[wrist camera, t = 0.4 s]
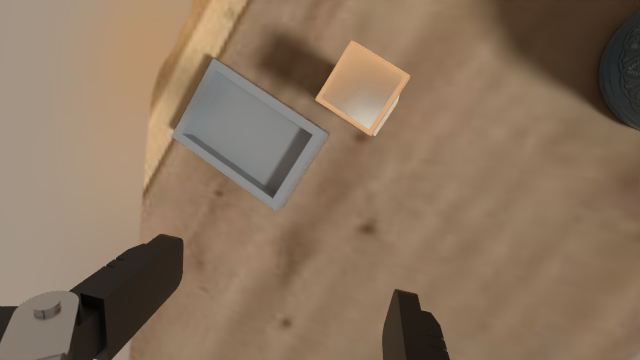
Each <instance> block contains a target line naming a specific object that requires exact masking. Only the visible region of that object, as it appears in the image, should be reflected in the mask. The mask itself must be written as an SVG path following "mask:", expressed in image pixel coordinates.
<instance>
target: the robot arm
mask: <svg viewBox="0 0 640 360" xmlns="http://www.w3.org/2000/svg"><path fill="white" fill-rule="evenodd" d="M182 274H183V240H182V239H181V238H178V237H173V236H169V235H165V234H160V235H158V236H157V237H155V238H154V239H153V240H151V241H150V242H149V243H147V244H141V245H138V246H136V247H133V248H130V249H128V250H127V251H125V252H124V253H122V254H121V255H119V256H118V257H117V258H116V260H112V261H111V262H109V263H108V264H107V265H106V267H105V266H104V267H102V268H101V269H100V270H98V271H97V272H95V273H94V274H92V275H91V276H90V277H88V278H87V279H85V280H84V281H83V282H81V283H80V284H78V285H77V286H75V287H74V288H73V289H71V290H70V291H54V292H53V291H52V292H48V293H44V294H41V295H38V296H35V297H33V298H31V299H29V300H27V301H25V302H24V303H22V304H21V305H20V306H4V307H2V306H0V360H93V359H97V360H111V359H112V358H113V357H114V356H115V355H116V354H117V353H118V352H119V351H120V350H121V349H122V347H123V346H124V345H125V344H126V343H127V342H128V341H129V340H130V339H131V338H132V337H133V336H134V335H135V333H136V332H137V331H138V330H139V329H140V328H141V327H142V326H143V325H144V324H145V323H146V322H147V320H148V319H149V318H150V317H151V316H152V315H153V314H154V313H155V312H156V311H157V310H158V309H159V307H160V306H161V305H162V304H163V303H164V302H165V301H166V300H167V299H168V298H169V297H170V296H171V294H172V293H173V292H174V291H175V290H176V289H177V287H178V286H179V284H180V281H181V279H182ZM382 347H383V360H450V358H449V355H448V352H447V348H446V344H445V341H444V337H443V334H442V330H441V327H440V325H439V323H438V322H437V320H436V319H435V318H434V316H433V315H432V314H431V313H430V312H426V311H422V310H421V308H420V303H419V299H418V295H417V294H415V293H411V292H406V291H402V290H398V289H395V290H394V293H393V296H392V299H391V303H390V306H389V310H388V313H387V316H386V320H385V323H384V328H383V336H382Z"/></svg>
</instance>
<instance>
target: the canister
mask: <svg viewBox="0 0 640 360" xmlns="http://www.w3.org/2000/svg"><path fill="white" fill-rule="evenodd" d="M599 86H600V91H601V94H602V97H603V99H604V101H605V103H606V104H607V106H608V108H609V109H610V110H611V111H612V113H613V114H614V115H615V116H616V117H617V118H619V119H620V120H621V121H622V122H624V123H626V124H627V125H629V126H631V127H633V128H635V129H637V130H640V10H639V11H637V12H636V13H635V14H634V15H633V16H632V17H630V18H629V19H628V20H627V21H626V22H625V23H624V24H623V25H622V26H621V27H620V28H619V29H618V30H617V31H616V32H615V34H614V35H613V36H612V38H611V39H610V41H609V42H608V44H607V46H606V47H605V50H604V52H603V54H602V57H601V61H600V65H599Z"/></svg>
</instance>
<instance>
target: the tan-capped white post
mask: <svg viewBox="0 0 640 360" xmlns="http://www.w3.org/2000/svg"><path fill="white" fill-rule="evenodd" d="M409 79H410V75H408V74H407V73H405V72H403V71H402V70H400V69H398V68H397V67H395V66H394V65H392V64H390V63H389V62H387V61H385V60H384V59H382V58H381V57H379V56H377V55H376V54H374V53H372V52H371V51H369V50H367V49H366V48H364V47H363V46H361V45H359V44H358V43H356V42H354V41H353V40H351V42H350V44H349V45H348V47H347V48H346V50H345V52H344V53H343V55H342V57H341V58H340V60H339V61H338V63H337V65H336V66H335V68H334V70H333V71H332V73H331V74H330V76H329V78H328V79H327V81H326V83H325V84H324V86H323V87H322V89H321V91H320V92H319V94H318V96H317V97H316V99H315V100H316V101H317V102H319V103H320V104H322V105H324V106H325V107H327V108H328V109H330V110H331V111H333V112H334V113H336V114H337V115H339V116H340V117H342V118H343V119H345V120H347V121H348V122H350V123H351V124H353V125H354V126H356V127H357V128H359V129H360V130H362V131H363V132H365V133H366V134H368V135H370V136H372V135H373V136H375V135H376V134H377V132H378V131H379V129H380V128H381V126H382V125H383V124H384V122H385V121H386V119H387V118H388V116H389V115H390V113H391V112H392V110H393V109H394V107H395V106H396V104H397V103H398V99H399V95H400V93H401V91H402V90H403V88H404V87H405V85H406V84H407V82H408V81H409Z"/></svg>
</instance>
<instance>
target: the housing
mask: <svg viewBox="0 0 640 360" xmlns="http://www.w3.org/2000/svg"><path fill="white" fill-rule="evenodd" d="M329 135H330V133H328V132H327V131H325V130H324V129H322V128H321V127H319V126H318V125H316V124H315V123H313V122H312V121H310V120H309V119H307V118H306V117H304V116H303V115H301V114H300V113H298V112H297V111H295V110H294V109H292V108H291V107H289V106H288V105H286V104H285V103H283V102H282V101H280V100H279V99H277V98H276V97H274V96H273V95H271V94H270V93H268V92H267V91H265V90H263V89H262V88H260V87H259V86H257V85H256V84H254V83H253V82H251V81H250V80H248V79H247V78H245V77H244V76H242V75H241V74H239V73H238V72H236V71H235V70H233V69H232V68H230V67H229V66H227V65H226V64H224V63H222V62H220V61H218V60H216V59H215V58H213V59H212V61H211V63H210V65H209V67H208V69H207V71H206V72H205V74H204V76H203V78H202V80H201V82H200V84H199V86H198V88H197V89H196V91H195V93H194V95H193V97H192V99H191V101H190V103H189V105H188V106H187V108H186V110H185V112H184V114H183V116H182V118H181V120H180V121H179V123H178V125H177V127H176V129H175V131H174V133H173V135H172V137H173V138H175V139H176V140H178V141H179V142H180V143H182V144H183V145H184V146H186V147H187V148H189V149H190V150H191V151H193V152H194V153H196V154H197V155H198V156H200V157H201V158H203V159H204V160H205V161H207V162H208V163H210V164H211V165H212V166H214V167H215V168H217V169H218V170H219V171H221V172H222V173H224V174H225V175H226V176H228V177H229V178H231V179H232V180H233V181H235V182H236V183H237V184H239V185H240V186H242V187H243V188H244V189H246V190H247V191H249V192H250V193H251V194H253V195H254V196H256V197H257V198H258V199H260V200H261V201H263V202H264V203H265V204H267V205H268V206H270V207H271V208H272V209H274V210H275V211H276V210H278V209H279V208H281V207H283V206H284V205H285V203H286V202H287V200H288V199H289V197H290V196H291V194H292V193H293V191H294V189H295V188H296V186H297V185H298V183H299V182H300V180H301V178H302V177H303V175H304V174H305V172H306V171H307V169H308V168H309V166H310V164H311V163H312V161H313V160H314V158H315V157H316V155H317V153H318V152H319V150H320V149H321V147H322V146H323V144H324V143H325V141H326V139H327V138H328V136H329Z"/></svg>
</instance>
